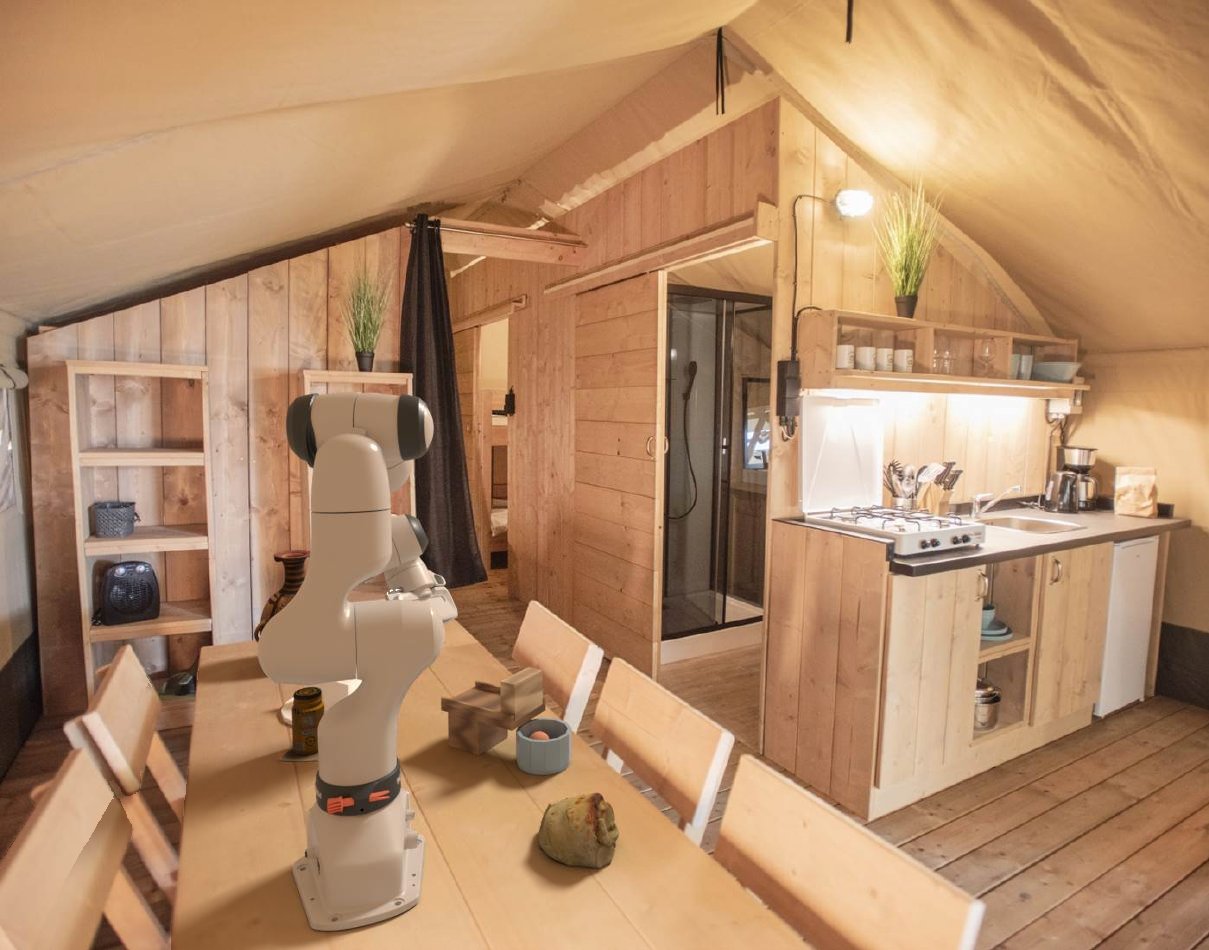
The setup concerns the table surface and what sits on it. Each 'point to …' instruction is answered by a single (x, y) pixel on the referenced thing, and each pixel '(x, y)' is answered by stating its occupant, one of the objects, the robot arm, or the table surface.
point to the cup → (544, 746)
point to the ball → (539, 736)
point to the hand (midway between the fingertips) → (439, 645)
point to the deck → (480, 718)
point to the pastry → (579, 831)
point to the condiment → (305, 724)
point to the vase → (291, 586)
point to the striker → (522, 692)
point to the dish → (325, 695)
